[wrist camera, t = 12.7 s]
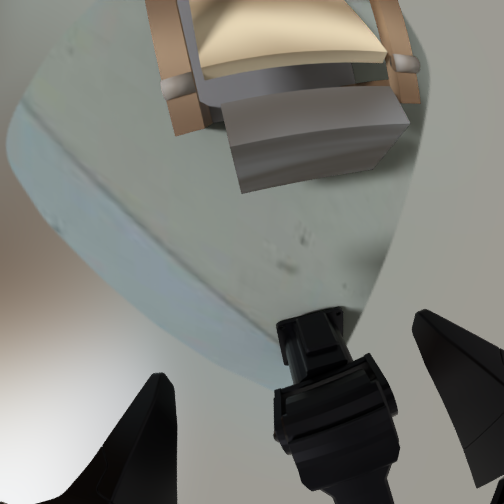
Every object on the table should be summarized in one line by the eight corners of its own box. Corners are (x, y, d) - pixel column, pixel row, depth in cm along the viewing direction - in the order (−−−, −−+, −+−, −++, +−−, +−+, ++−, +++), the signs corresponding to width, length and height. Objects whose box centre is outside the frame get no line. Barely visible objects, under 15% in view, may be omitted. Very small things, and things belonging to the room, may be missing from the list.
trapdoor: (378, 168, 13) (425, 113, 8) (233, 195, 14) (214, 137, 8) (306, 26, 15) (312, -29, 10) (201, 41, 15) (186, -16, 10)
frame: (354, 101, 16) (426, 104, 9) (195, 127, 17) (173, 137, 10) (318, -35, 11) (362, -86, 4) (162, -17, 11) (132, -73, 4)
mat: (354, 101, 16) (358, 101, 16) (195, 127, 17) (194, 127, 16) (318, -35, 11) (321, -39, 10) (162, -17, 11) (161, -20, 10)
